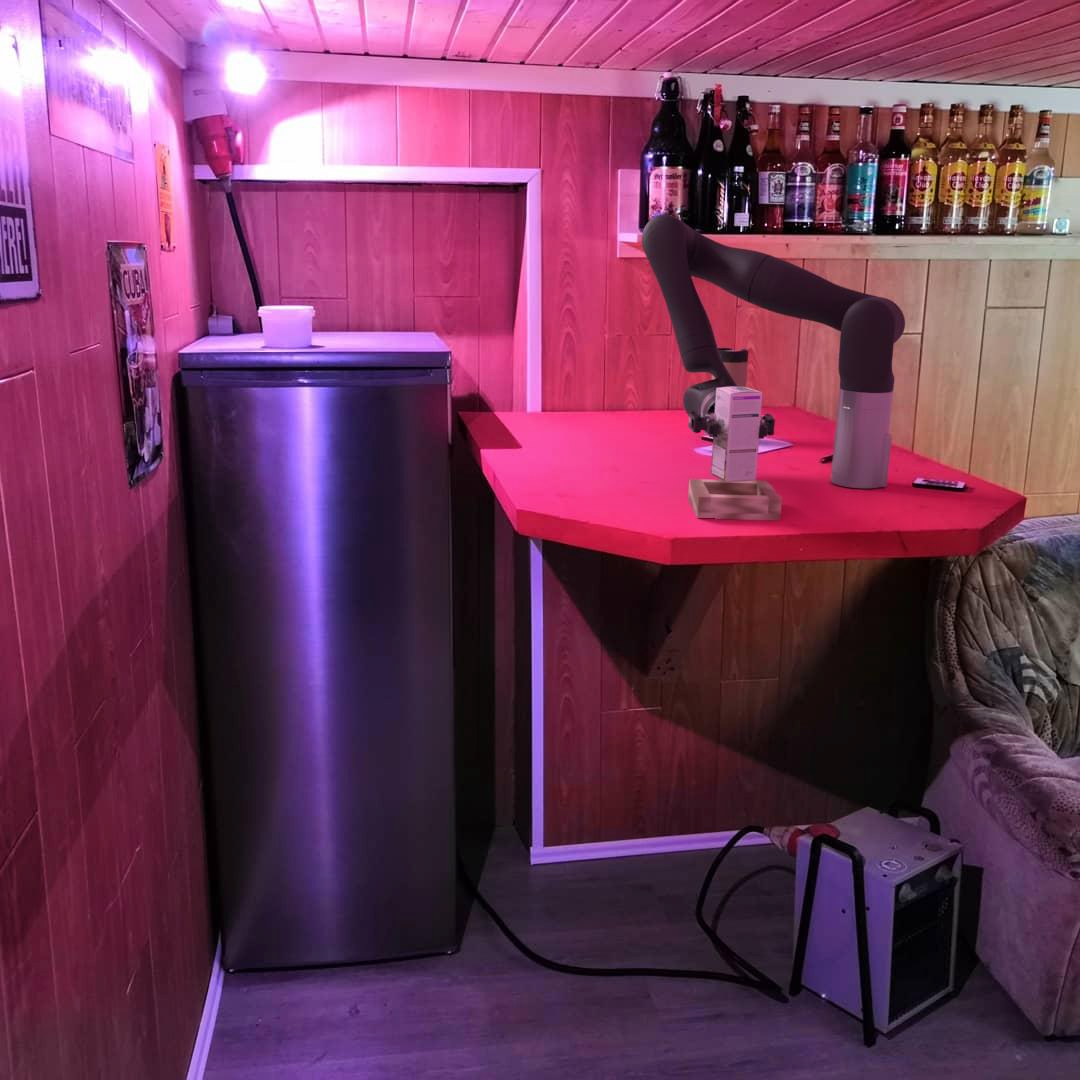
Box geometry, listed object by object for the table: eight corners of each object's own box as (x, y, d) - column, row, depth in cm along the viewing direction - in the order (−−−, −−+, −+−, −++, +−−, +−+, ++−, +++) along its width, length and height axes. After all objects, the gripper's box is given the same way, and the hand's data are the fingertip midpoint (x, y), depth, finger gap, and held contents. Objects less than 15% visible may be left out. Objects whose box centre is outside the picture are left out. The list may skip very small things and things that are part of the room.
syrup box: (757, 481, 169) (765, 391, 165) (723, 482, 167) (731, 391, 163) (741, 473, 174) (748, 385, 170) (708, 474, 173) (715, 386, 169)
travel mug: (716, 444, 229) (722, 351, 224) (702, 438, 236) (707, 347, 231) (748, 443, 231) (755, 351, 226) (733, 437, 238) (739, 347, 233)
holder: (765, 501, 178) (766, 480, 177) (780, 520, 166) (781, 498, 165) (688, 499, 178) (689, 479, 177) (697, 518, 166) (698, 496, 165)
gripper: (684, 391, 181) (695, 406, 165) (767, 393, 181) (786, 409, 165) (681, 433, 184) (691, 453, 168) (763, 436, 183) (782, 456, 167)
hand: (738, 431), depth 166 cm, fingers closed on syrup box, 7 cm apart
